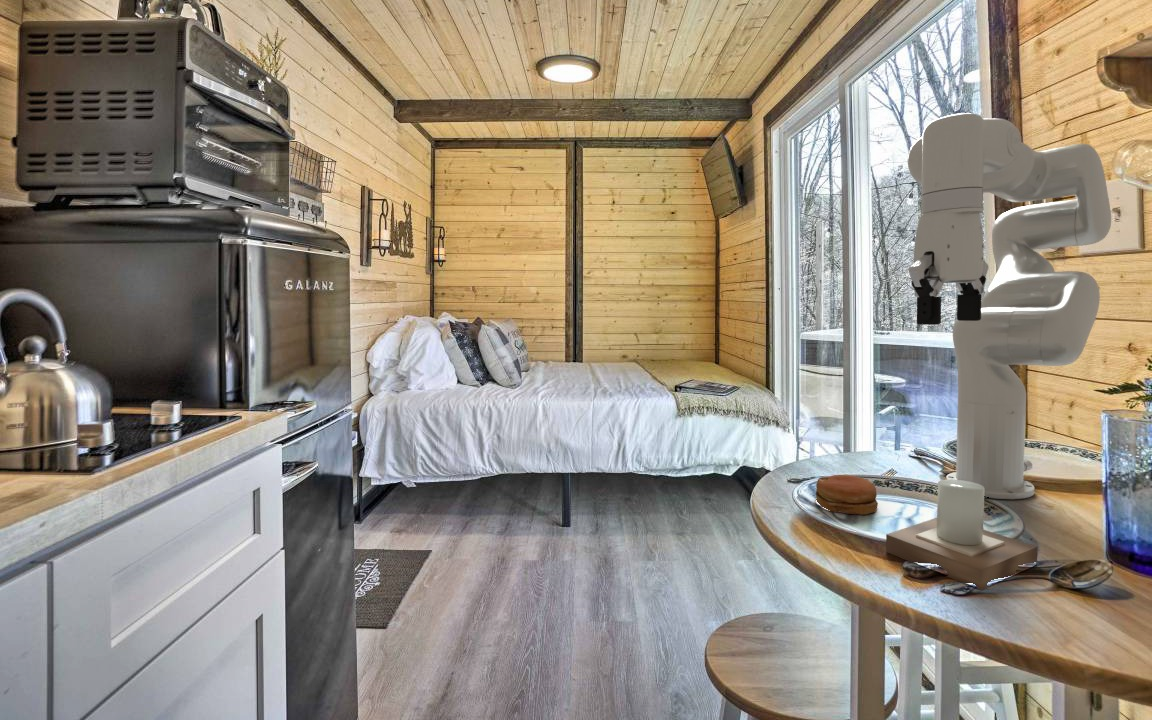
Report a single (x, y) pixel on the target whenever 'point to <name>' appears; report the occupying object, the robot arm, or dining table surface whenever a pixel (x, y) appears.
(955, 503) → the ceramic cylinder
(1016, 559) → the walnut base
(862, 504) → the burger
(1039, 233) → the robot arm
